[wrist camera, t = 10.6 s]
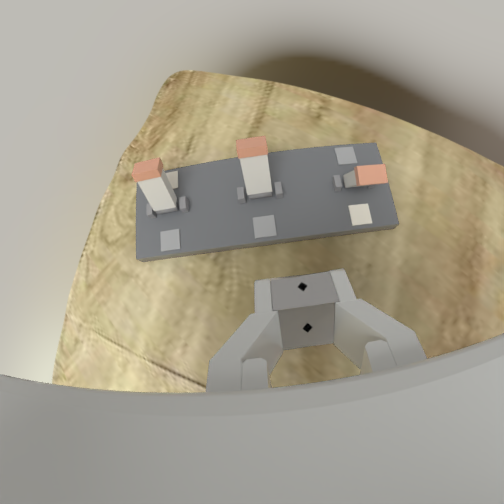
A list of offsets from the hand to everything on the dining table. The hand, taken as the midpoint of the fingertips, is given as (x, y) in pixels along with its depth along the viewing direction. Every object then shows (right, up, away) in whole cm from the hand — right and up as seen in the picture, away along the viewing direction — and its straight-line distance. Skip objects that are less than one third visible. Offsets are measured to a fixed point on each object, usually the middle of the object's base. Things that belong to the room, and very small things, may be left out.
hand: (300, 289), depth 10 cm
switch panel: (0, +8, +30) cm, 31 cm away
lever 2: (+11, +10, +26) cm, 30 cm away
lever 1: (-12, +7, +28) cm, 32 cm away
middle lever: (-1, +9, +27) cm, 28 cm away
